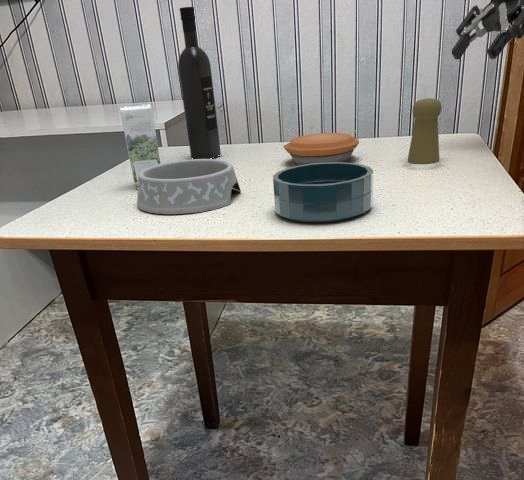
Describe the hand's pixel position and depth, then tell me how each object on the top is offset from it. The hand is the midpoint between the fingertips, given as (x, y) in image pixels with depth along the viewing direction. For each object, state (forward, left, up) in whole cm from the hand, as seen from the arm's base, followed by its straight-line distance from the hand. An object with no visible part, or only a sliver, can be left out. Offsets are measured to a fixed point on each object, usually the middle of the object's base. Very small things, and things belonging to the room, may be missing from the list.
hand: (472, 56), depth 101 cm
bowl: (+40, +22, -17) cm, 49 cm away
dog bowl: (+57, +3, -17) cm, 60 cm away
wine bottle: (+46, -33, -17) cm, 59 cm away
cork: (+10, +2, -17) cm, 20 cm away
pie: (+26, -11, -17) cm, 33 cm away
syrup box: (+62, -13, -17) cm, 66 cm away
